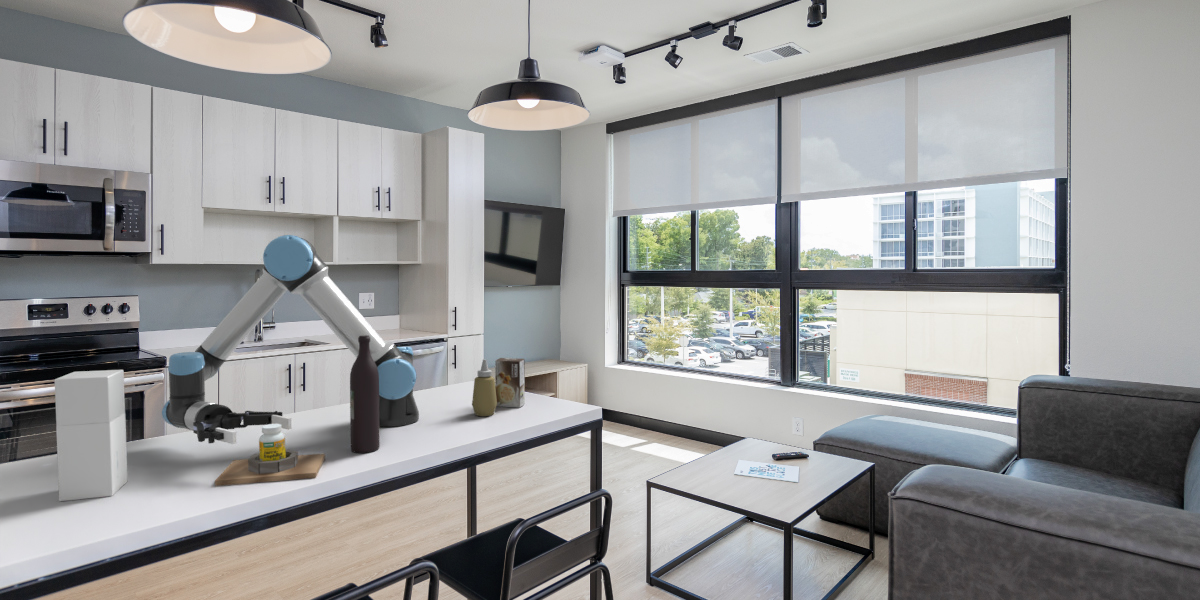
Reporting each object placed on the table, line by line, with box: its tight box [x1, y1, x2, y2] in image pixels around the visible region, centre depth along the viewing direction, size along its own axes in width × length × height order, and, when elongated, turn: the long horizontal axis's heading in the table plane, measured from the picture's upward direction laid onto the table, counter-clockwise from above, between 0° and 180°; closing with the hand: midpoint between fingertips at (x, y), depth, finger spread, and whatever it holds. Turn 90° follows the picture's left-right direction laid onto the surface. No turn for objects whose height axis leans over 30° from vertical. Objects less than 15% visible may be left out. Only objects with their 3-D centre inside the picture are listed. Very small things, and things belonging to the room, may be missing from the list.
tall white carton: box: [54, 369, 128, 502], centre depth 125 cm, size 9×9×25 cm
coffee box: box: [494, 357, 526, 408], centre depth 207 cm, size 9×6×16 cm
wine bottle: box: [349, 335, 380, 454], centre depth 155 cm, size 7×7×30 cm
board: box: [214, 448, 326, 487], centre depth 139 cm, size 20×14×4 cm
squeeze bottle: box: [471, 358, 497, 417], centre depth 193 cm, size 8×8×18 cm
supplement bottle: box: [258, 424, 287, 462], centre depth 139 cm, size 5×5×10 cm
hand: (263, 430), depth 140 cm, fingers open, 13 cm apart
